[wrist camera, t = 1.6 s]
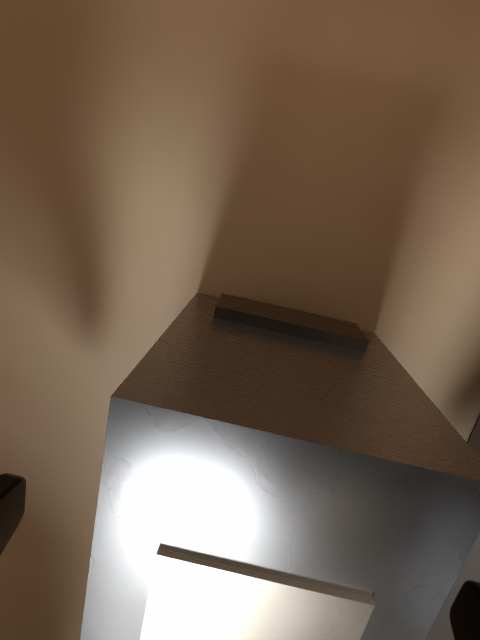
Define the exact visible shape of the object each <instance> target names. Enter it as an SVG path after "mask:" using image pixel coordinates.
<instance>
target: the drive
mask: <svg viewBox="0 0 480 640" xmlns="http://www.w3.org/2000/svg"><path fill="white" fill-rule="evenodd" d="M479 533H480V458H479V457H478V456H477V454H476V453H475V452H474V451H473V450H472V449H471V447H470V446H469V445H468V444H467V443H466V441H465V440H464V439H463V438H462V437H461V435H460V434H459V433H458V432H457V431H456V430H455V428H454V427H453V426H452V425H451V424H450V422H449V421H448V420H447V419H446V418H445V416H444V415H443V414H442V413H441V412H440V410H439V409H438V408H437V407H436V406H435V405H434V403H433V402H432V401H431V400H430V399H429V397H428V396H427V395H426V394H425V393H424V391H423V390H422V389H421V388H420V387H419V386H418V384H417V383H416V382H415V381H414V380H413V378H412V377H411V376H410V375H409V374H408V372H407V371H406V370H405V369H404V368H403V367H402V365H401V364H400V363H399V362H398V361H397V359H396V358H395V357H394V356H393V355H392V353H391V352H390V351H389V350H388V349H387V348H386V346H385V345H384V344H383V343H382V342H381V340H380V339H379V338H378V337H377V336H376V334H375V333H371V332H367V331H362V330H360V328H359V327H358V326H357V324H355V323H350V322H346V321H342V320H337V319H333V318H328V317H324V316H320V315H315V314H311V313H306V312H302V311H298V310H293V309H289V308H284V307H280V306H276V305H271V304H267V303H263V302H258V301H254V300H249V299H245V298H241V297H236V296H232V295H227V294H223V293H222V295H221V297H220V298H217V297H213V296H208V295H204V294H200V293H197V294H196V295H195V296H194V297H193V299H192V300H191V301H190V302H189V303H188V304H187V306H186V307H185V308H184V309H183V310H182V312H181V313H180V314H179V315H178V316H177V318H176V319H175V320H174V321H173V322H172V324H171V325H170V326H169V327H168V328H167V330H166V331H165V332H164V333H163V334H162V336H161V337H160V338H159V339H158V340H157V342H156V343H155V344H154V345H153V346H152V348H151V349H150V350H149V351H148V352H147V354H146V355H145V356H144V357H143V358H142V360H141V361H140V362H139V363H138V364H137V366H136V367H135V368H134V369H133V370H132V372H131V373H130V374H129V375H128V376H127V378H126V379H125V380H124V381H123V382H122V384H121V385H120V386H119V387H118V388H117V390H116V391H115V392H114V393H113V394H112V396H111V400H110V408H109V416H108V424H107V432H106V439H105V447H104V455H103V463H102V471H101V479H100V487H99V495H98V502H97V510H96V518H95V526H94V534H93V542H92V550H91V558H90V565H89V573H88V581H87V589H86V597H85V605H84V613H83V621H82V628H81V636H80V640H425V638H426V636H427V634H428V632H429V630H430V628H431V626H432V624H433V622H434V620H435V619H436V617H437V615H438V613H439V611H440V609H441V607H442V605H443V603H444V601H445V599H446V597H447V595H448V593H449V591H450V589H451V587H452V585H453V583H454V582H455V580H456V578H457V576H458V574H459V572H460V570H461V568H462V566H463V564H464V562H465V560H466V558H467V556H468V554H469V552H470V550H471V548H472V546H473V544H474V543H475V541H476V539H477V537H478V535H479Z"/></svg>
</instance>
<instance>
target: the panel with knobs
mask: <svg viewBox="0 0 480 640" xmlns="http://www.w3.org/2000/svg"><path fill="white" fill-rule="evenodd" d="M467 444H468V445H469V446H470V447H471V449H472V450H473V451H474V452H475V453H476V454H477V456H478V457H479V458H480V417H479V419H478V421H477V423H476V426H475V428H474V430H473V432H472V434H471V436H470V439H469V441H468V443H467ZM467 580H472V581H476V582H480V533H479V535H478V537H477V539H476V541H475V543H474V544H473V546H472V548H471V550H470V552H469V554H468V556H467V558H466V560H465V562H464V564H463V566H462V568H461V570H460V572H459V574H458V576H457V578H456V580H455V582H454V583H453V585H452V587H451V589H450V591H449V593H448V595H447V597H446V599H445V601H444V603H443V605H442V607H441V609H440V611H439V613H438V615H437V617H436V619H435V620H434V622H433V624H432V626H431V628H430V630H429V632H428V634H427V636H426V638H425V640H454V636H453V632H452V628H451V624H450V608H451V605H452V604H453V602H454V600H455V598H456V596H457V594H458V592H459V590H460V588H461V586H462V584H463V583H464V582H465V581H467Z"/></svg>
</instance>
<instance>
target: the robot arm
mask: <svg viewBox="0 0 480 640" xmlns="http://www.w3.org/2000/svg"><path fill="white" fill-rule="evenodd" d="M25 495H26V480H25V478H23V477H21V476H17V475H13V474H8V473H4V474H1V475H0V555H1V553H2V552H3V550H4V548H5V547H6V545H7V543H8V542H9V540H10V538H11V537H12V535H13V533H14V531H15V530H16V528H17V526H18V525H19V523H20V521H21V519H22V517H23V514H24V510H25ZM450 624H451V628H452V632H453V636H454V640H480V582H476V581H472V580H467V581H465V582H464V583H463V584H462V586H461V588H460V590H459V592H458V594H457V596H456V598H455V600H454V602H453V604H452V605H451V608H450Z"/></svg>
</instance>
